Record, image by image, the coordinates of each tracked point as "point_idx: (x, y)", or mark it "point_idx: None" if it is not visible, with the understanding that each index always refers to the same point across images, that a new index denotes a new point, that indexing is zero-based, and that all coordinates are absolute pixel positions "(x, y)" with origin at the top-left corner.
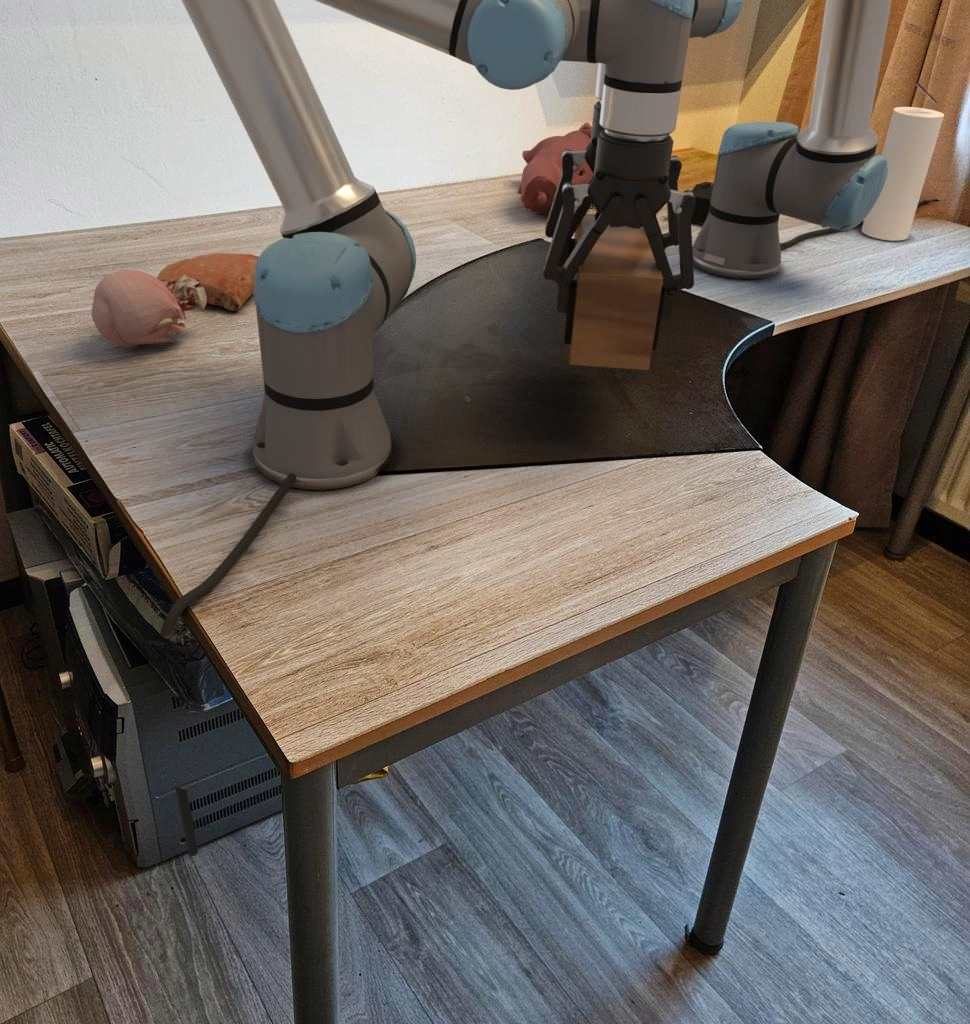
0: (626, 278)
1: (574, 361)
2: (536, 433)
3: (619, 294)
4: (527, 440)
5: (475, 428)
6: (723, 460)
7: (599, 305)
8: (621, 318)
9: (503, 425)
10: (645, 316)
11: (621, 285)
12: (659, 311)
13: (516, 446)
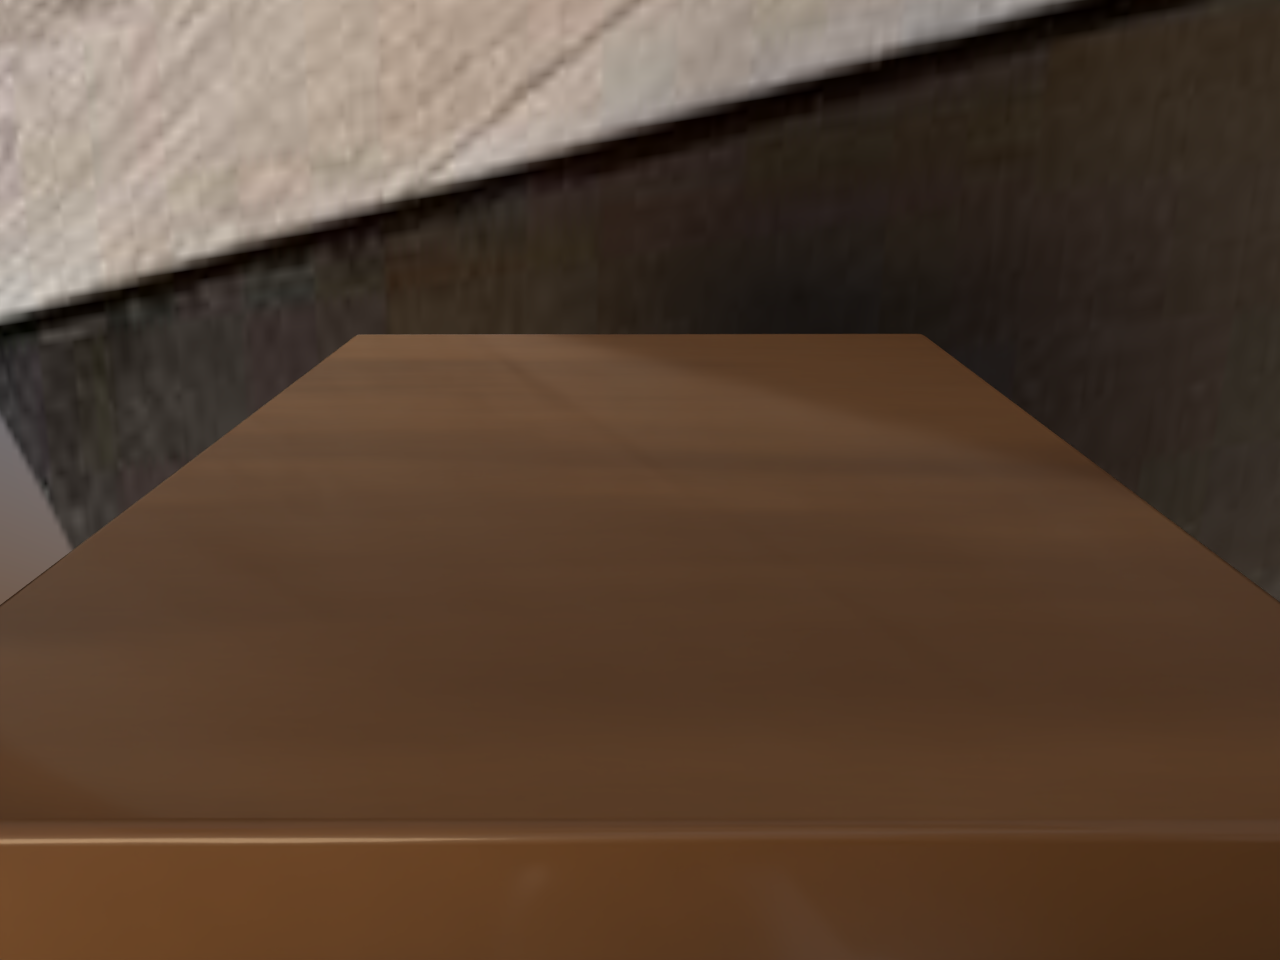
0: (517, 788)
1: (897, 341)
2: None
3: (626, 604)
4: (955, 275)
5: (1177, 348)
6: (81, 223)
7: (870, 518)
8: (572, 467)
9: (1049, 392)
10: (291, 484)
11: (608, 698)
12: None
13: (1011, 212)
